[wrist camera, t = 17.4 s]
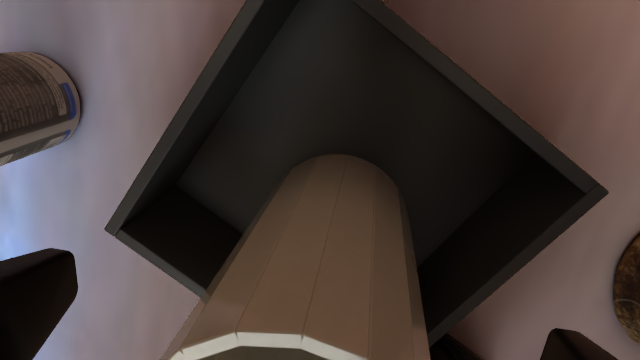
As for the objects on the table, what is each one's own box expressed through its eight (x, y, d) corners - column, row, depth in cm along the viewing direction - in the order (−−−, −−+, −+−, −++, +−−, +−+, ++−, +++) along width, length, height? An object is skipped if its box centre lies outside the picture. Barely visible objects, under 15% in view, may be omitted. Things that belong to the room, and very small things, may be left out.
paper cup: (438, 220, 20) (514, 480, 9) (341, 303, 23) (298, 597, 11) (332, 123, 19) (260, 267, 8) (242, 219, 22) (83, 442, 10)
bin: (548, 148, 19) (610, 192, 14) (363, 325, 24) (358, 409, 18) (317, -44, 18) (291, -74, 13) (167, 182, 22) (103, 230, 17)
